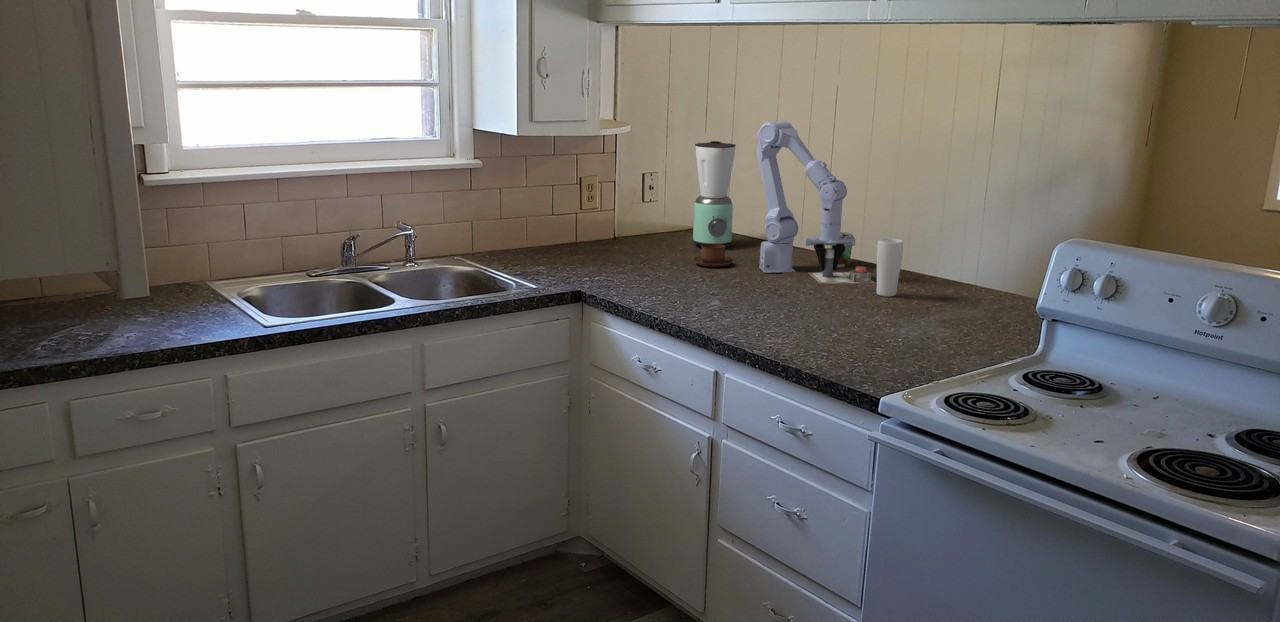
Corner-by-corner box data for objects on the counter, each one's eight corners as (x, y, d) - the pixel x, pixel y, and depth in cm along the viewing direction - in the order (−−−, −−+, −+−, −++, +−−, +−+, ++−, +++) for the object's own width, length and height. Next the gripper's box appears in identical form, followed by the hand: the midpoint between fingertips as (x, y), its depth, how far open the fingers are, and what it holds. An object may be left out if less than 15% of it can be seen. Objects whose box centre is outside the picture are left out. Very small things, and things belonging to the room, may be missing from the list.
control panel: (820, 285, 277) (820, 275, 277) (807, 274, 291) (808, 264, 290) (875, 284, 279) (876, 274, 278) (860, 274, 292) (860, 264, 292)
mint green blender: (738, 250, 326) (742, 143, 317) (699, 251, 323) (702, 143, 314) (722, 240, 344) (725, 138, 335) (685, 240, 341) (687, 138, 332)
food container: (856, 271, 297) (858, 238, 294) (836, 270, 297) (838, 238, 294) (848, 262, 309) (851, 231, 306) (829, 262, 309) (831, 231, 306)
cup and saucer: (688, 262, 307) (688, 243, 305) (724, 260, 310) (724, 241, 308) (701, 270, 296) (701, 250, 294) (738, 268, 299) (739, 248, 297)
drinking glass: (884, 298, 263) (889, 243, 259) (868, 293, 269) (872, 239, 265) (904, 296, 266) (909, 241, 262) (887, 291, 272) (891, 237, 268)
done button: (856, 275, 280) (857, 268, 279) (853, 273, 283) (853, 266, 282) (866, 275, 280) (867, 268, 280) (863, 272, 283) (864, 266, 283)
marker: (823, 277, 284) (825, 250, 282) (820, 275, 287) (822, 248, 285) (834, 277, 284) (836, 250, 282) (831, 275, 287) (832, 248, 285)
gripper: (809, 225, 277) (806, 273, 280) (859, 225, 278) (856, 272, 282) (803, 221, 284) (800, 267, 287) (852, 221, 285) (848, 267, 289)
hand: (827, 270), depth 285 cm, fingers closed on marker, 3 cm apart
